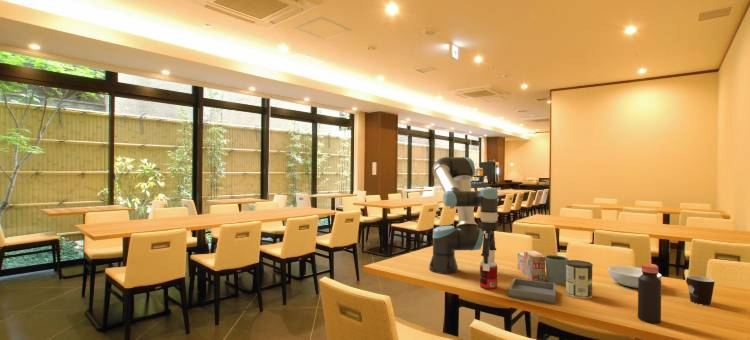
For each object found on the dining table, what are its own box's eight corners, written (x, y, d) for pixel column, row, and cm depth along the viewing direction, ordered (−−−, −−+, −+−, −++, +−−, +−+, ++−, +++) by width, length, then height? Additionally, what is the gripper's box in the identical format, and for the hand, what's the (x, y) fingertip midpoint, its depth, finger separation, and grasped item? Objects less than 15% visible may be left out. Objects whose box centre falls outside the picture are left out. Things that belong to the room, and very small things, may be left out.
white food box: (517, 269, 204) (517, 246, 204) (528, 269, 203) (529, 246, 203) (532, 280, 182) (532, 255, 182) (545, 281, 182) (545, 256, 182)
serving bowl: (663, 285, 177) (664, 271, 177) (658, 296, 161) (658, 280, 161) (613, 276, 191) (613, 263, 191) (603, 285, 176) (603, 271, 176)
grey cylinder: (542, 281, 180) (542, 257, 180) (548, 277, 188) (549, 253, 188) (564, 286, 173) (565, 261, 173) (570, 281, 181) (570, 257, 181)
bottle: (641, 322, 133) (641, 267, 133) (635, 315, 140) (636, 262, 140) (663, 325, 131) (664, 269, 131) (656, 318, 137) (657, 264, 137)
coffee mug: (716, 308, 148) (717, 283, 148) (688, 303, 152) (689, 279, 152) (709, 299, 158) (710, 276, 158) (683, 295, 162) (684, 272, 162)
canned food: (499, 286, 172) (499, 263, 172) (494, 291, 166) (494, 266, 166) (482, 283, 176) (482, 260, 176) (477, 288, 170) (477, 264, 170)
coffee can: (580, 290, 168) (581, 259, 168) (598, 298, 158) (598, 265, 158) (560, 291, 166) (560, 260, 166) (576, 299, 156) (576, 266, 156)
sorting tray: (508, 296, 158) (508, 288, 158) (513, 285, 174) (513, 277, 174) (555, 304, 150) (555, 295, 150) (555, 291, 166) (556, 283, 166)
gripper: (492, 225, 158) (492, 274, 158) (501, 219, 180) (501, 262, 180) (475, 223, 161) (474, 272, 161) (485, 218, 184) (485, 260, 183)
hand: (488, 267), depth 171 cm, fingers open, 13 cm apart
